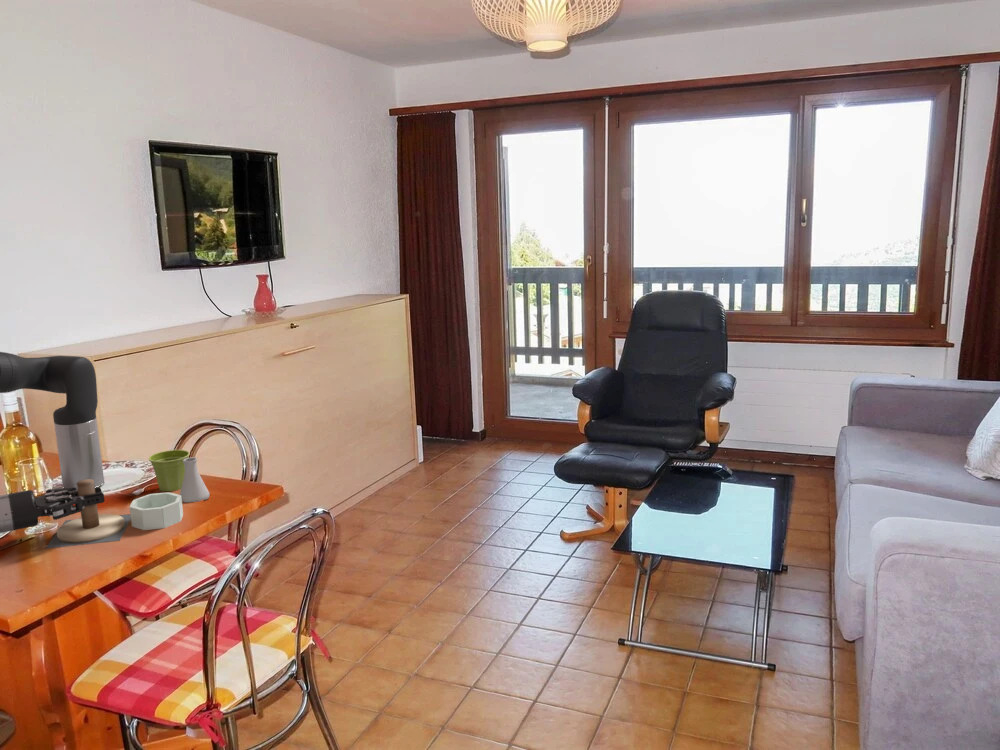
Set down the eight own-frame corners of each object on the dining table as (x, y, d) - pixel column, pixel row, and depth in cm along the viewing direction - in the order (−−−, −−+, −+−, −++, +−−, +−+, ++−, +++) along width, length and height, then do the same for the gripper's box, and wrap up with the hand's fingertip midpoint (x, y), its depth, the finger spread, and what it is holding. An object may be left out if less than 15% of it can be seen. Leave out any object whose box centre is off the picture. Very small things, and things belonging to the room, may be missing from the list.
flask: (186, 493, 191) (182, 454, 189) (215, 493, 190) (211, 454, 188) (172, 504, 184) (167, 463, 182) (201, 505, 183) (197, 464, 181)
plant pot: (143, 491, 192) (139, 458, 190) (174, 479, 200) (171, 447, 198) (170, 497, 188) (167, 463, 186) (201, 485, 196) (198, 452, 194)
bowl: (138, 516, 177) (135, 495, 176) (185, 511, 179) (183, 490, 178) (129, 533, 167) (126, 511, 166) (179, 528, 170) (176, 506, 168)
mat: (65, 522, 173) (65, 520, 173) (133, 515, 177) (133, 513, 177) (45, 550, 159) (45, 548, 159) (119, 542, 163) (119, 540, 162)
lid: (66, 521, 172) (60, 474, 170) (130, 515, 176) (124, 469, 173) (49, 546, 160) (42, 495, 158) (117, 538, 163) (111, 489, 161)
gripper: (8, 505, 152) (105, 487, 161) (4, 485, 163) (95, 469, 173) (13, 541, 154) (110, 521, 163) (9, 518, 165) (99, 500, 174)
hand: (102, 494), depth 168 cm, fingers closed on lid, 3 cm apart
